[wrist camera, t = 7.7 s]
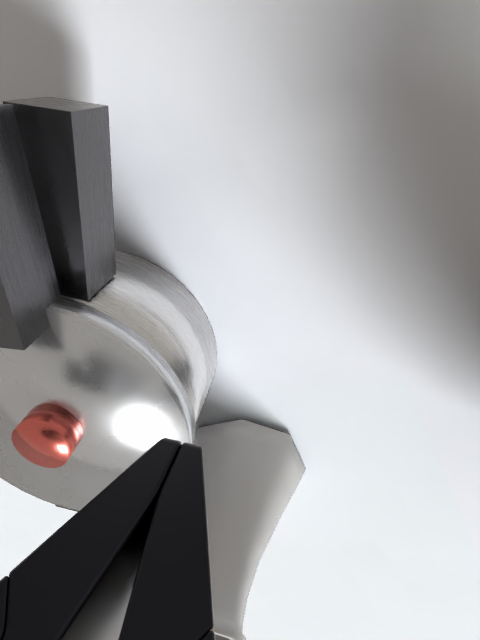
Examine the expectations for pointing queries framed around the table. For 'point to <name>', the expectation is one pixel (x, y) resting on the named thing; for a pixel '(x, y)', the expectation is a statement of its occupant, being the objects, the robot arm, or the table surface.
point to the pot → (107, 240)
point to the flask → (243, 508)
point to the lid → (68, 365)
